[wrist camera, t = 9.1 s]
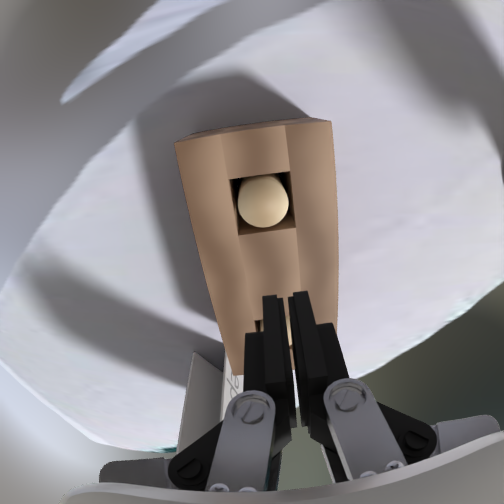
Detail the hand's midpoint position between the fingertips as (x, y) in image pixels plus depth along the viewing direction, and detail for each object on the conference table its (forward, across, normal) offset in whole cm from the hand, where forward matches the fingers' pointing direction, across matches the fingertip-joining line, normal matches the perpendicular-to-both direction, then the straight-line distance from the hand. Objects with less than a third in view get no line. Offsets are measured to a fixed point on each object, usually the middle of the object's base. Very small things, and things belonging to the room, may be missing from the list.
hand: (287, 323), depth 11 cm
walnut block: (+22, +1, +7) cm, 23 cm away
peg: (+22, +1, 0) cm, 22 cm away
